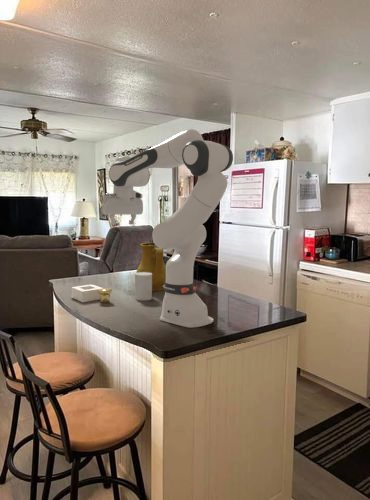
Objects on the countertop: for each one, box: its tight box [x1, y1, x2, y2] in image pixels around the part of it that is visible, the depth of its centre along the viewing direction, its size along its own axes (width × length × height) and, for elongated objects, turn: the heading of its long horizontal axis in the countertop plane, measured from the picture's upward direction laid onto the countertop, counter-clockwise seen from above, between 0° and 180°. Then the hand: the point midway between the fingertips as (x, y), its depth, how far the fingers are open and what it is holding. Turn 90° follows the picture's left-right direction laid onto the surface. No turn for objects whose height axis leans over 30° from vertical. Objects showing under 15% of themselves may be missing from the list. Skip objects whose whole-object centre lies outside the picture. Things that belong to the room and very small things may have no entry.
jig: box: [71, 283, 103, 303], centre depth 188 cm, size 11×11×5 cm
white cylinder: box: [134, 272, 153, 301], centre depth 190 cm, size 8×8×12 cm
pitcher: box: [135, 241, 166, 292], centre depth 208 cm, size 17×19×25 cm
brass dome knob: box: [98, 287, 113, 304], centre depth 182 cm, size 6×6×6 cm
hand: (122, 224), depth 179 cm, fingers open, 8 cm apart
